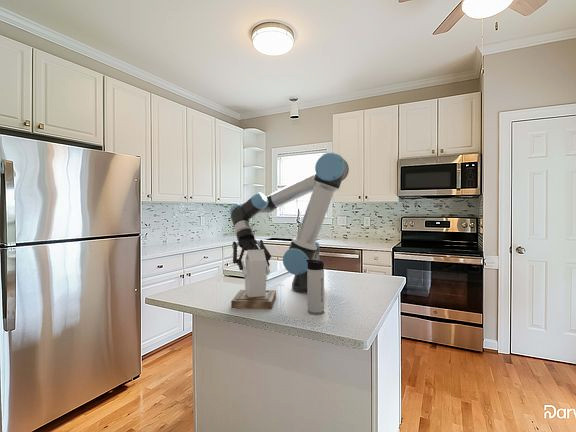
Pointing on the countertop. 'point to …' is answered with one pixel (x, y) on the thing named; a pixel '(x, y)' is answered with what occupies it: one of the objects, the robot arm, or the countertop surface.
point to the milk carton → (255, 273)
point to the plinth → (253, 300)
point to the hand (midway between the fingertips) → (257, 274)
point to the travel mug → (315, 287)
